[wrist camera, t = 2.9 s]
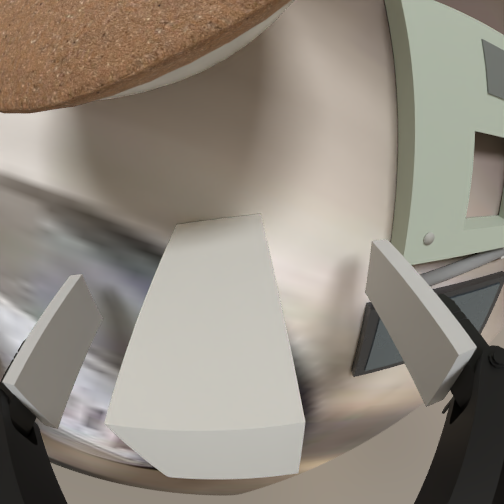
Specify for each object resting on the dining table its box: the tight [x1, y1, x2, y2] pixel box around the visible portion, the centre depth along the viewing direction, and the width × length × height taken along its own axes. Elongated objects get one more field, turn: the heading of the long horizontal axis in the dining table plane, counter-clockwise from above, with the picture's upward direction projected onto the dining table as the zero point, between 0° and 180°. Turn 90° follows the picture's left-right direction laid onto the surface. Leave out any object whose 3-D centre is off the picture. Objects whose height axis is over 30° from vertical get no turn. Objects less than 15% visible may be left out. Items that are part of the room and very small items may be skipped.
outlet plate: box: [384, 0, 504, 265], centre depth 10 cm, size 14×14×2 cm
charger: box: [104, 214, 305, 479], centre depth 10 cm, size 4×4×10 cm
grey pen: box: [420, 247, 504, 286], centre depth 15 cm, size 13×1×1 cm, turn 104°
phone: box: [351, 271, 504, 377], centre depth 18 cm, size 14×7×1 cm, turn 95°
